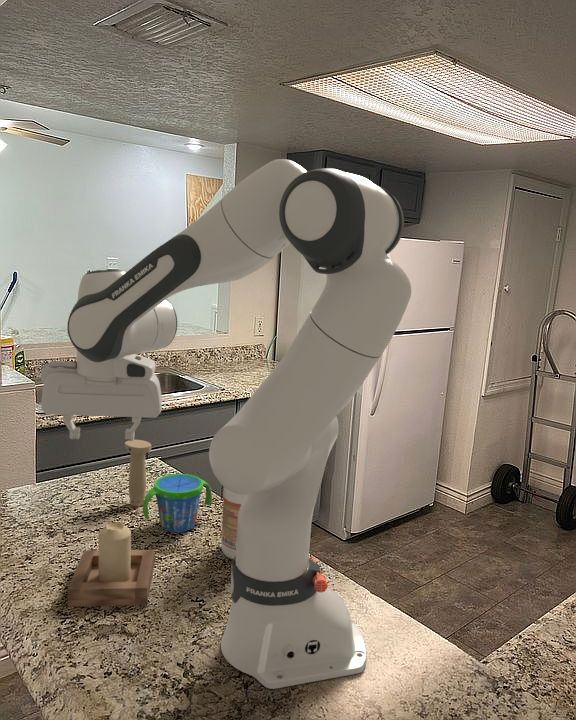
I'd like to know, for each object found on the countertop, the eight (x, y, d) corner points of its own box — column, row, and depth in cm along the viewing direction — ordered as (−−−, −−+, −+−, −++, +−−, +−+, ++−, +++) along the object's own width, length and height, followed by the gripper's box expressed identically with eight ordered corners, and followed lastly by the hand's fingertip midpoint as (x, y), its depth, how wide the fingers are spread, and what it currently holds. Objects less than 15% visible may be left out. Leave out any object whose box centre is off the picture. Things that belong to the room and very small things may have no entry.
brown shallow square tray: (154, 565, 114) (154, 549, 114) (147, 605, 101) (147, 588, 101) (84, 566, 112) (84, 550, 112) (67, 606, 100) (67, 589, 99)
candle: (122, 587, 104) (122, 534, 102) (92, 583, 105) (92, 530, 103) (135, 571, 109) (136, 520, 108) (107, 567, 110) (107, 516, 108)
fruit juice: (225, 537, 127) (230, 410, 122) (269, 541, 126) (276, 414, 121) (217, 560, 117) (222, 423, 112) (264, 564, 117) (272, 427, 112)
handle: (138, 511, 136) (139, 449, 134) (119, 503, 140) (120, 442, 137) (154, 505, 140) (155, 444, 138) (135, 497, 144) (136, 438, 141)
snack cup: (149, 543, 122) (150, 497, 121) (135, 522, 131) (136, 478, 129) (219, 530, 130) (221, 486, 128) (202, 510, 139) (203, 469, 137)
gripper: (35, 363, 99) (36, 443, 101) (161, 369, 102) (158, 446, 104) (45, 356, 105) (46, 431, 108) (163, 362, 108) (161, 434, 110)
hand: (102, 439), depth 106 cm, fingers open, 8 cm apart
